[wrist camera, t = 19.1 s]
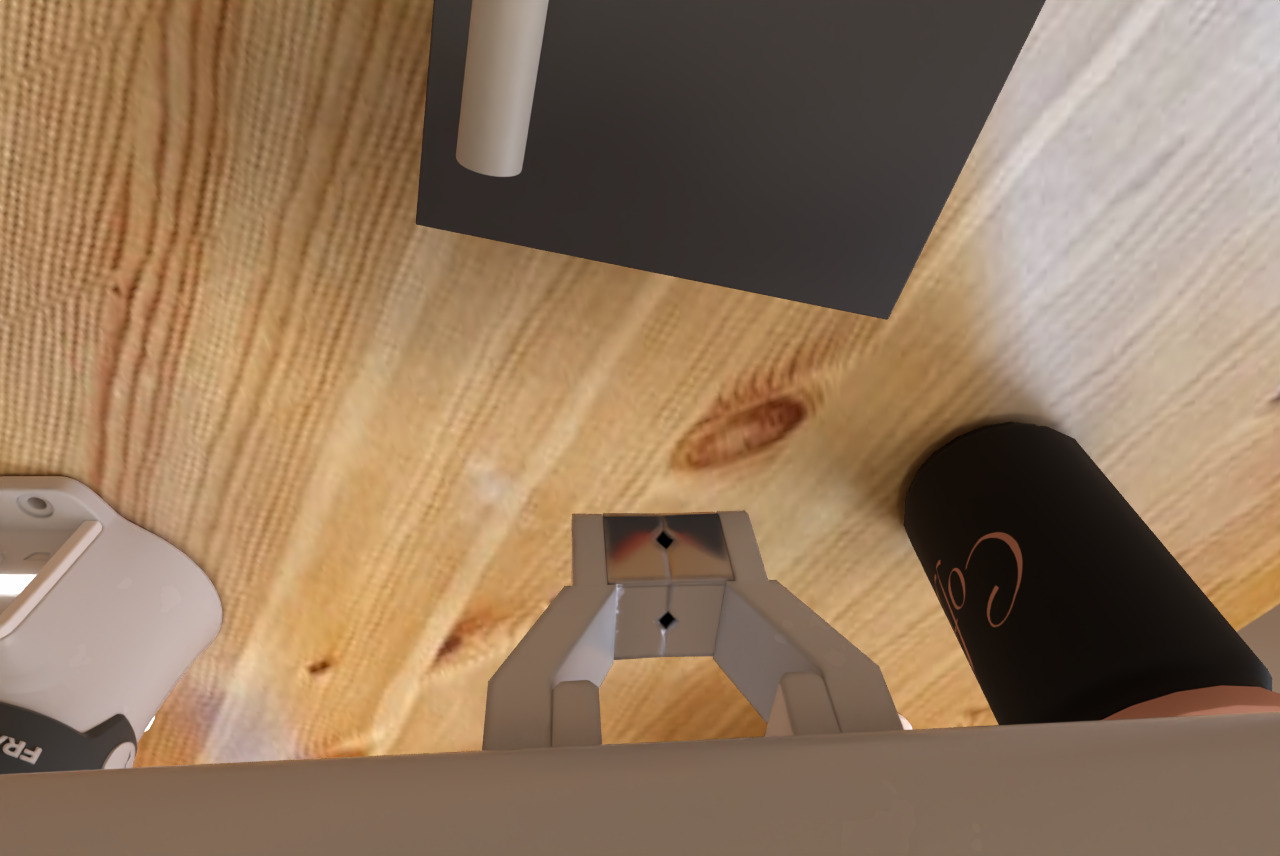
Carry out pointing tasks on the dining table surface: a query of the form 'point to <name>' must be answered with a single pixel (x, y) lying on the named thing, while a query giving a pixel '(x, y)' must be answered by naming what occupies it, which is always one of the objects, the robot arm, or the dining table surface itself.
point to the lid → (714, 133)
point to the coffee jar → (1068, 589)
